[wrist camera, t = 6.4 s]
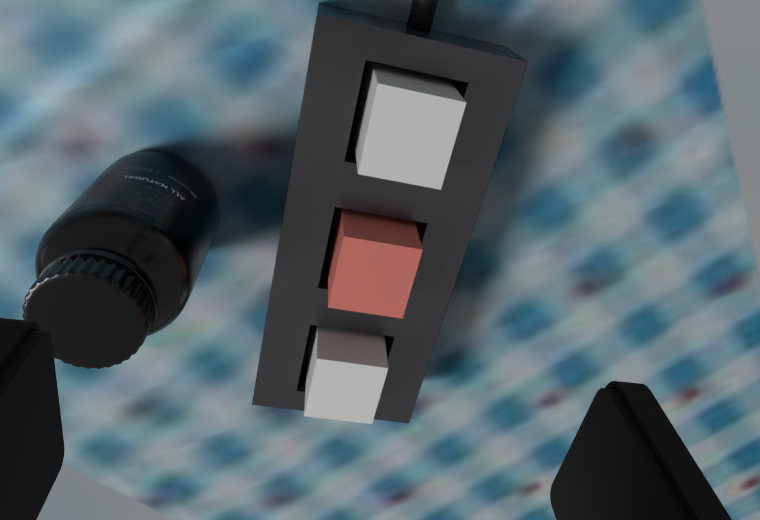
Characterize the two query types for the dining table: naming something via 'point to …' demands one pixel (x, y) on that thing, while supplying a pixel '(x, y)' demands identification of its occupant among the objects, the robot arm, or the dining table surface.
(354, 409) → the button
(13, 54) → the dining table surface
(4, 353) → the robot arm
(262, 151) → the dining table surface
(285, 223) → the push button control box
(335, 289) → the button
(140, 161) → the supplement bottle
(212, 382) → the dining table surface
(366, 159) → the button
